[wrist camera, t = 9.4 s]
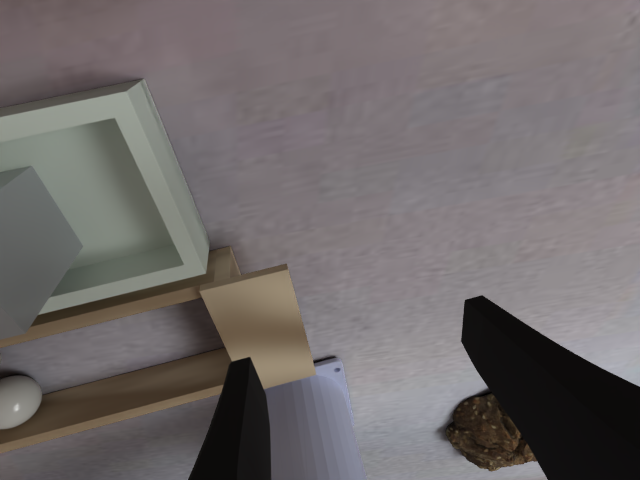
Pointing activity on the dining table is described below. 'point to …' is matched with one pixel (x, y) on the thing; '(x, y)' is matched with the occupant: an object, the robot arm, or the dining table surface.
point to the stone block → (30, 249)
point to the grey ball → (18, 400)
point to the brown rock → (487, 434)
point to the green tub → (109, 189)
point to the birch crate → (184, 374)
